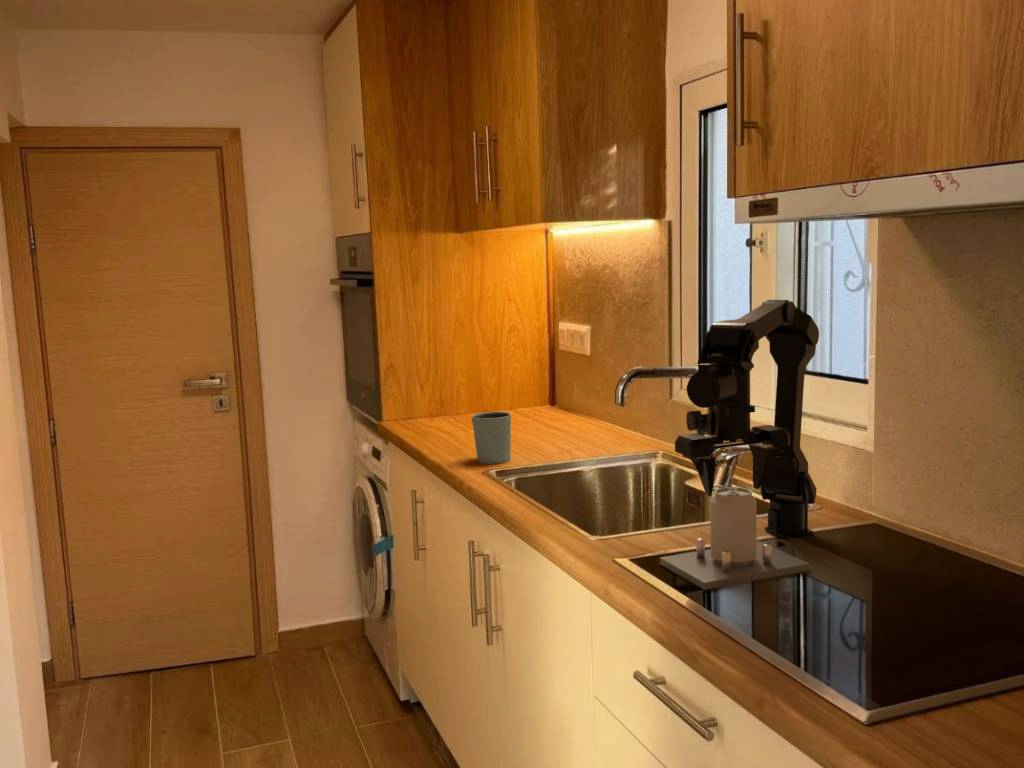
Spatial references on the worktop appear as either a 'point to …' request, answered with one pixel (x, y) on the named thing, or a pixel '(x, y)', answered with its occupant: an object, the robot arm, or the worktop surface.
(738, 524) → the can
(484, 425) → the grey-blue cup
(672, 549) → the worktop surface
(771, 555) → the pin tray
